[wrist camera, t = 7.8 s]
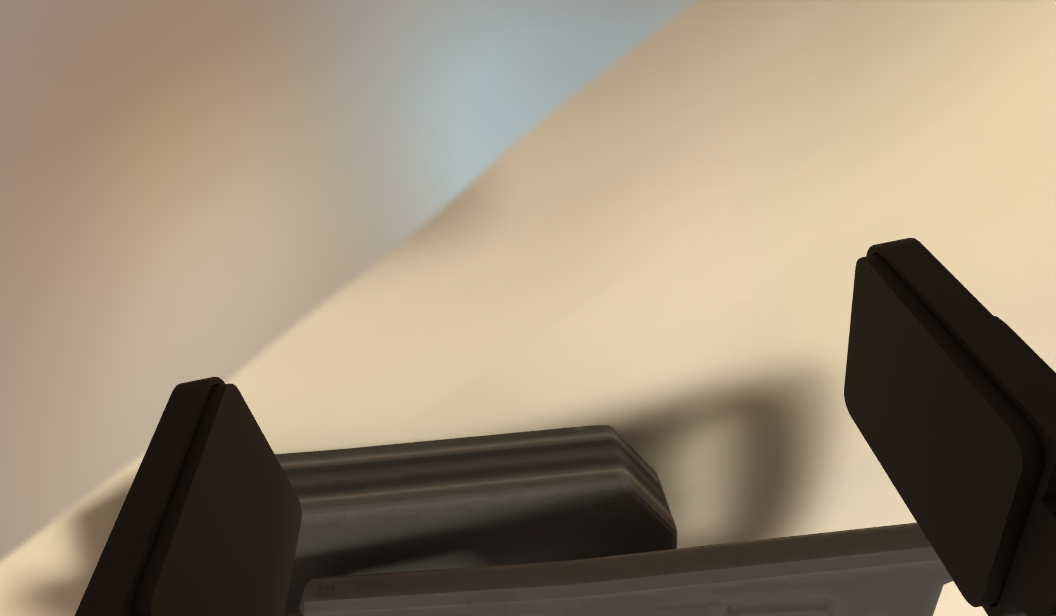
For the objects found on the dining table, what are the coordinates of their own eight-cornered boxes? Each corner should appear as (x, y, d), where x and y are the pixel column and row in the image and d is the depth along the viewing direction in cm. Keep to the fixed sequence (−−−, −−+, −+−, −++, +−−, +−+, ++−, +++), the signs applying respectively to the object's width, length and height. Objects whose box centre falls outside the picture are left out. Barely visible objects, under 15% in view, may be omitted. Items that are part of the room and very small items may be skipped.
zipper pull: (1090, 723, 21) (168, 905, 20) (948, 529, 26) (221, 663, 25) (1228, 506, 15) (-11, 735, 14) (1015, 320, 21) (104, 478, 20)
